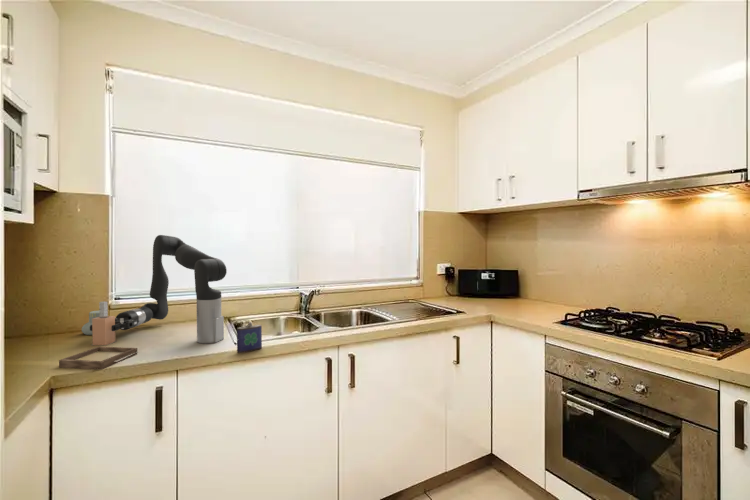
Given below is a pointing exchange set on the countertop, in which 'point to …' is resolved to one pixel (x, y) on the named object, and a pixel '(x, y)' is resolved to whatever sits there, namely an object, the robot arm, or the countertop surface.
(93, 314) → the air freshener
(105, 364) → the tray
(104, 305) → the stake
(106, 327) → the collar
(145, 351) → the countertop surface
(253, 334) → the flask
